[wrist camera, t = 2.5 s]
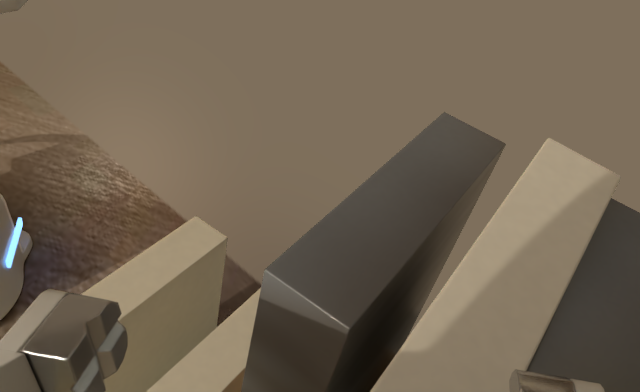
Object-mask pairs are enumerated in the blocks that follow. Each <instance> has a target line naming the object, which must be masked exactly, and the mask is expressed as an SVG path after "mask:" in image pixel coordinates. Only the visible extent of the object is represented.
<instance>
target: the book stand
mask: <svg viewBox="0 0 640 392" xmlns="http://www.w3.org/2000/svg"><path fill="white" fill-rule="evenodd" d="M505 145H506V144H505V143H503V142H501V141H499V140H498V139H496V138H494V137H492V136H490V135H488V134H486V133H484V132H482V131H480V130H478V129H476V128H474V127H472V126H470V125H468V124H466V123H464V122H462V121H460V120H458V119H456V118H455V117H453V116H451V115H449V114H447V113H445V112H444V113H443V114H441V115H440V116H439V117H438V118H437V119H436V120H435V121H433V122H432V123H431V124H430V125H429V126H428V127H427V128H425V129H424V130H423V131H422V132H421V133H420V134H419V135H418V136H416V137H415V138H414V139H413V140H412V141H411V142H409V143H408V144H407V145H406V146H405V147H404V148H403V149H402V150H400V151H399V152H398V153H397V154H396V155H395V156H394V157H392V158H391V159H390V160H389V161H388V162H387V163H386V164H384V165H383V166H382V167H381V168H380V169H379V170H378V171H377V172H375V173H374V174H373V175H372V176H371V177H370V178H369V179H368V180H366V181H365V182H364V183H363V184H362V185H361V186H359V187H358V188H357V189H356V190H355V191H354V192H353V193H352V194H350V195H349V196H348V197H347V198H346V199H345V200H344V201H342V202H341V203H340V204H339V205H338V206H337V207H335V208H334V209H333V210H332V211H331V212H330V213H329V214H327V215H326V216H325V217H324V218H323V219H322V220H321V221H320V222H318V224H316V225H315V226H314V227H313V228H311V230H309V231H308V232H307V233H306V234H305V235H304V236H302V237H301V238H300V239H299V240H298V241H297V242H296V243H294V244H293V245H292V246H291V247H290V248H289V249H288V250H286V252H284V253H283V254H282V255H281V256H280V257H279V258H277V259H276V260H275V261H274V262H273V263H272V264H270V265H269V266H268V267H267V268H266V269H265V271H264V276H263V282H262V286H261V291H260V296H259V301H258V306H257V312H256V317H255V322H254V327H253V332H252V337H251V342H250V347H249V352H248V357H247V363H246V368H245V373H244V378H243V383H242V388H241V392H370V391H371V389H372V388H373V386H374V385H375V384H376V382H377V381H378V379H379V378H380V376H381V375H382V374H383V372H384V371H385V369H386V368H387V367H388V365H389V364H390V362H391V361H392V359H393V358H394V357H395V355H396V354H397V352H398V351H399V349H400V348H401V347H402V345H403V344H404V342H405V341H406V339H407V336H408V335H409V333H410V331H411V329H412V327H413V325H414V323H415V321H416V319H417V317H418V315H419V313H420V311H421V309H422V307H423V305H424V304H425V301H426V300H427V298H428V296H429V294H430V292H431V290H432V288H433V286H434V284H435V282H436V280H437V278H438V276H439V274H440V272H441V270H442V268H443V266H444V264H445V262H446V261H447V259H448V257H449V255H450V253H451V251H452V249H453V247H454V245H455V243H456V241H457V239H458V237H459V235H460V233H461V231H462V229H463V227H464V225H465V223H466V221H467V219H468V218H469V216H470V214H471V212H472V209H473V208H474V206H475V204H476V202H477V200H478V198H479V196H480V194H481V192H482V190H483V188H484V186H485V184H486V182H487V180H488V178H489V176H490V175H491V173H492V171H493V169H494V167H495V165H496V163H497V161H498V159H499V157H500V155H501V153H502V151H503V149H504V147H505ZM526 371H529V372H535V373H542V374H548V375H554V376H561V377H567V378H569V379H575V380H581V381H587V382H593V383H599V384H601V386H602V387H603V388H604V391H605V392H640V213H639V212H637V211H635V210H633V209H631V208H629V207H627V206H625V205H623V204H622V203H620V202H617V201H616V200H614V199H612V198H611V199H610V201H609V203H608V205H607V207H606V209H605V211H604V213H603V216H602V218H601V220H600V222H599V224H598V226H597V228H596V230H595V232H594V234H593V236H592V238H591V240H590V242H589V244H588V246H587V248H586V250H585V252H584V254H583V256H582V258H581V260H580V262H579V264H578V266H577V269H576V271H575V273H574V275H573V277H572V279H571V281H570V283H569V285H568V287H567V289H566V291H565V293H564V295H563V297H562V299H561V301H560V303H559V305H558V307H557V309H556V311H555V313H554V315H553V317H552V320H551V322H550V324H549V326H548V328H547V330H546V332H545V334H544V336H543V338H542V340H541V342H540V344H539V346H538V348H537V350H536V352H535V354H534V356H533V358H532V360H531V362H530V364H529V366H528V368H527V370H526Z"/></svg>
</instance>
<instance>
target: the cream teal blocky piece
mask: <svg viewBox="0 0 640 392" xmlns="http://www.w3.org/2000/svg"><path fill="white" fill-rule="evenodd" d="M227 239H228V238H227V237H226V236H225V235H223V234H222V233H220V232H219V231H217V230H216V229H214V228H213V227H212V226H210V225H209V224H207V223H206V222H204V221H203V220H202V219H200V218H198V217H197V216H195V217H193V218H192V219H190V220H189V221H188V222H186V223H185V224H183V225H182V226H180V227H179V228H177V229H176V230H174V231H173V232H171V233H170V234H168V235H167V236H166V237H164V238H163V239H161V240H160V241H158V242H157V243H155V244H154V245H152V246H151V247H149V248H148V249H147V250H145V251H144V252H142V253H141V254H139V255H138V256H136V257H135V258H133V259H132V260H130V261H129V262H128V263H126V264H125V265H123V266H122V267H120V268H119V269H117V270H116V271H114V272H113V273H111V274H110V275H109V276H107V277H106V278H104V279H103V280H101V281H100V282H98V283H97V284H95V285H94V286H92V287H91V288H90V289H88V290H87V291H85V292H84V293H82V294H81V295H85V296H90V297H95V298H100V299H105V300H110V301H114V302H118V304H119V307H120V310H121V313H122V314H121V315H120V317H119V318H118V321H119V322H120V323H121V324H122V325H123V326H124V327H125V328H126V331H127V335H128V347H127V350H126V353H125V357H124V360H123V362H122V364H121V365H120V367H119V369H118V371H117V372H116V373H114V374H113V375H111V376H109V377H108V378H106V379H105V387H106V391H105V392H241V388H242V383H243V378H244V373H245V368H246V363H247V357H248V352H249V347H250V342H251V337H252V332H253V327H254V322H255V317H256V312H257V306H258V301H259V296H260V291H261V288H260V289H259V290H258V291H257V292H256V293H255V294H253V295H252V296H251V297H250V298H249V299H248V300H247V301H246V302H245V303H244V304H242V305H241V306H240V307H239V308H238V309H237V310H236V311H235V312H234V313H232V314H231V315H230V316H229V317H228V318H227V319H226V320H225V321H224V322H223V323H221V324H220V325H219V326H218V327H217V320H218V312H219V304H220V296H221V288H222V280H223V271H224V263H225V255H226V247H227Z"/></svg>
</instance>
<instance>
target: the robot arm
mask: <svg viewBox="0 0 640 392" xmlns="http://www.w3.org/2000/svg"><path fill="white" fill-rule="evenodd" d="M27 1H28V0H0V14H2V13H7V12H12V11H17V10H19V9H20V8H21V7H22V6H23V5H24V4H25V3H26V2H27ZM22 226H23V222H22V218H18V220H17V223H16V227H15V226H14V224H13V221H12V218H11V215H10V213H9V210H8V207H7V204H6V201H5V199H4V197H3V196H2V195H1V194H0V320H1V319H2V318H3V317H4V316H5V315H6V314H7V313H8V312H9V311H10V310H11V308H12V307H13V306H14V304H15V303H16V301H17V299H18V297H19V295H20V293H21V290H22V286H23V280H24V272H23V266H24V261H25V259H26V258H27V256H28V254H29V252H30V250H31V248H32V245H33V242H32V239H31V237H30V235H29V234H28V233H27V232H25V231H23V230H21V229H22ZM121 314H122V313H121V310H120V307H119V304H118V302H114V301H110V300H105V299H100V298H95V297H90V296H85V295H80V294H75V293H70V292H64V291H59V290H53V289H48V290H46V291H44V292H42V293H41V294H40V295H39V296H38V297H37V298H36V299H35V301H34V302H33V303H32V304H31V305H30V306H29V308H28V309H27V310H26V311H25V312H24V313H23V315H22V316H21V317H20V318H19V319H18V320H17V322H16V323H15V324H14V325H13V326H12V327H11V329H10V330H9V331H8V332H7V333H6V335H5V336H4V337H3V338H2V339H1V340H0V392H105V391H106V387H105V379H106V378H108V377H109V376H111V375H113V374H114V373H116V372H117V371H118V369H119V367H120V365H121V364H122V362H123V360H124V357H125V353H126V350H127V347H128V335H127V331H126V328H125V327H124V326H123V325H122V324H121V323H120V322H119V321H118V318H119V317H120V315H121ZM509 387H510V392H605V391H604V388H603V387H602V386H601V384H599V383H593V382H587V381H581V380H575V379H569V378H567V377H561V376H554V375H548V374H542V373H535V372H529V371H523V370H516V369H515V370H514V371H513V372H512V375H511V377H510V380H509Z"/></svg>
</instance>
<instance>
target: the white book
mask: <svg viewBox="0 0 640 392" xmlns="http://www.w3.org/2000/svg"><path fill="white" fill-rule="evenodd" d="M619 181H620V176H619V175H618V174H616V173H614V172H612V171H610V170H608V169H607V168H605V167H603V166H601V165H599V164H597V163H595V162H593V161H592V160H590V159H588V158H586V157H584V156H582V155H581V154H579V153H577V152H575V151H573V150H571V149H569V148H568V147H566V146H564V145H562V144H560V143H558V142H557V141H555V140H553V139H551V138H548V139H547V140H546V141H545V143H544V144H543V146H542V147H541V149H540V150H539V151H538V153H537V154H536V156H535V157H534V158H533V160H532V161H531V163H530V164H529V165H528V167H527V169H526V170H525V171H524V173H523V174H522V175H521V177H520V178H519V180H518V181H517V183H516V184H515V185H514V187H513V188H512V190H511V191H510V193H509V194H508V196H507V197H506V198H505V200H504V201H503V203H502V204H501V205H500V207H499V208H498V210H497V211H496V213H495V214H494V215H493V217H492V218H491V220H490V221H489V223H488V224H487V225H486V227H485V228H484V230H483V231H482V233H481V234H480V235H479V237H478V238H477V240H476V241H475V242H474V244H473V245H472V247H471V248H470V250H469V251H468V252H467V254H466V255H465V257H464V258H463V260H462V261H461V262H460V264H459V265H458V267H457V268H456V270H455V271H454V273H453V274H452V275H451V277H450V278H449V280H448V281H447V282H446V284H445V285H444V287H443V288H442V290H441V291H440V292H439V294H438V295H437V297H436V298H435V300H434V301H433V302H432V304H431V305H430V307H429V308H428V309H427V311H426V312H425V314H424V315H423V317H422V318H421V320H420V321H419V322H418V324H417V325H416V327H415V328H414V329H413V331H412V332H411V334H410V335H409V337H408V338H407V339H406V341H405V342H404V344H403V345H402V347H401V348H400V349H399V351H398V352H397V354H396V355H395V357H394V358H393V359H392V361H391V362H390V364H389V365H388V367H387V368H386V369H385V371H384V372H383V374H382V375H381V376H380V378H379V379H378V381H377V382H376V384H375V385H374V386H373V388H372V389H371V391H370V392H510V387H509V380H510V377H511V375H512V372H513V371H514V370H515V369H516V370H523V371H526V370H527V368H528V366H529V364H530V362H531V360H532V358H533V356H534V354H535V352H536V350H537V348H538V346H539V344H540V342H541V340H542V338H543V336H544V334H545V332H546V330H547V328H548V326H549V324H550V322H551V320H552V317H553V315H554V313H555V311H556V309H557V307H558V305H559V303H560V301H561V299H562V297H563V295H564V293H565V291H566V289H567V287H568V285H569V283H570V281H571V279H572V277H573V275H574V273H575V271H576V269H577V266H578V264H579V262H580V260H581V258H582V256H583V254H584V252H585V250H586V248H587V246H588V244H589V242H590V240H591V238H592V236H593V234H594V232H595V230H596V228H597V226H598V224H599V222H600V220H601V218H602V216H603V213H604V211H605V209H606V207H607V205H608V203H609V201H610V199H611V197H612V195H613V193H614V191H615V189H616V187H617V185H618V183H619Z"/></svg>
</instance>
